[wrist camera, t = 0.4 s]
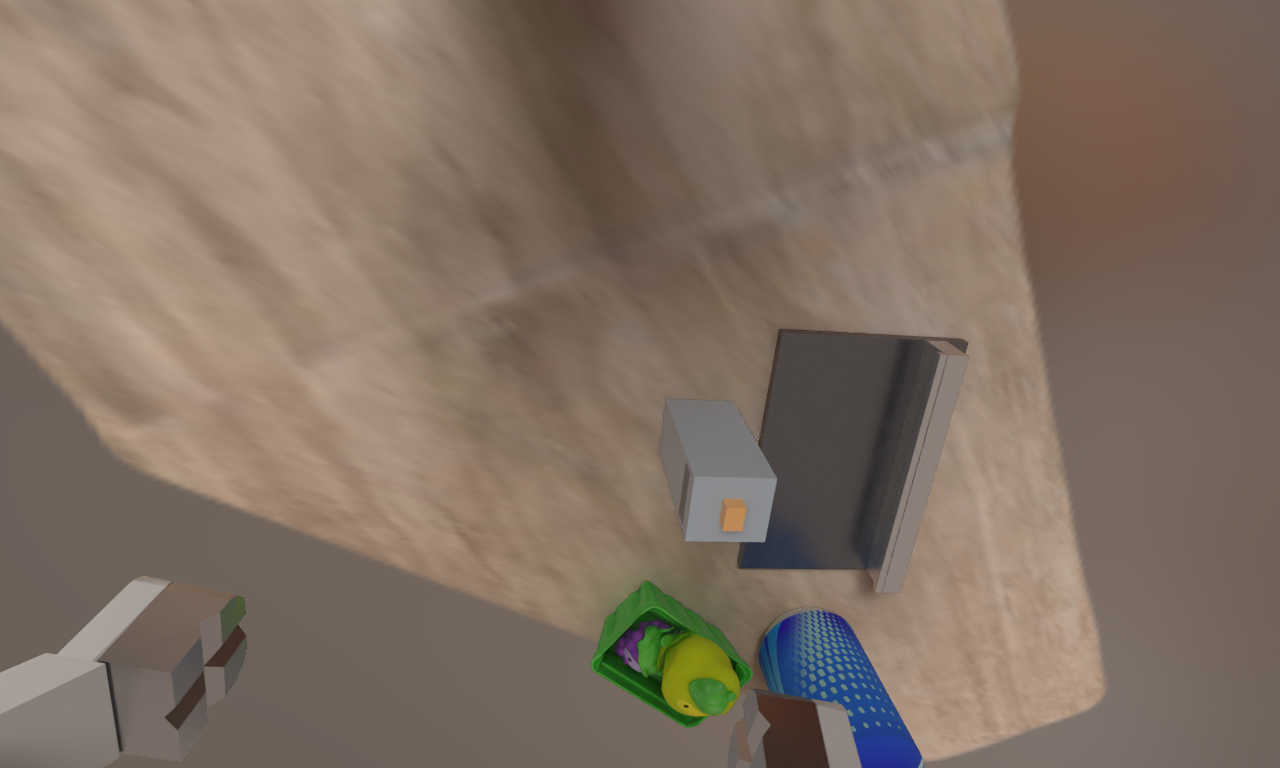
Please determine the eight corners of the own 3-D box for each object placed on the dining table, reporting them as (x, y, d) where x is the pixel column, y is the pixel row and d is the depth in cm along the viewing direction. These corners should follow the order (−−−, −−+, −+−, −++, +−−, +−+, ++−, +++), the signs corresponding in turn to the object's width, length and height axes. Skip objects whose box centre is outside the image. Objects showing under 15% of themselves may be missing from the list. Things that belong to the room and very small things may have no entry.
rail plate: (779, 328, 50) (796, 347, 47) (962, 338, 52) (992, 357, 49) (737, 562, 58) (749, 593, 54) (898, 563, 60) (920, 592, 56)
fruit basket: (582, 621, 58) (589, 738, 48) (655, 550, 57) (679, 656, 46) (680, 683, 62) (706, 802, 52) (752, 619, 61) (794, 730, 50)
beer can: (854, 596, 61) (951, 760, 46) (841, 671, 64) (928, 846, 50) (758, 602, 60) (827, 771, 45) (750, 678, 63) (811, 858, 49)
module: (665, 398, 51) (696, 485, 40) (733, 401, 52) (783, 487, 41) (658, 453, 53) (687, 551, 42) (724, 455, 54) (770, 551, 43)
